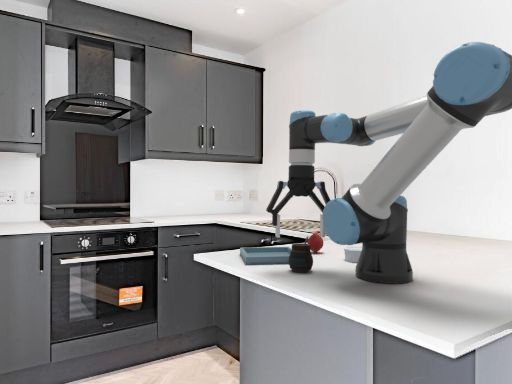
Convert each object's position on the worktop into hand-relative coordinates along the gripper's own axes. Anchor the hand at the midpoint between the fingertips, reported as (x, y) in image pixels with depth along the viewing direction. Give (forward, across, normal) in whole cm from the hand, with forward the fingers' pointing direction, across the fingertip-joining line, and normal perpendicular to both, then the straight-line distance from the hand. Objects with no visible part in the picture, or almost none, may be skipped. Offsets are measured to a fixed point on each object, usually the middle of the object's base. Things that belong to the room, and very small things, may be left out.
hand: (300, 236), depth 117 cm
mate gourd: (+10, 0, 0) cm, 10 cm away
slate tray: (+10, +6, -19) cm, 22 cm away
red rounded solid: (+10, -13, -28) cm, 32 cm away
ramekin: (+10, -23, -13) cm, 28 cm away
